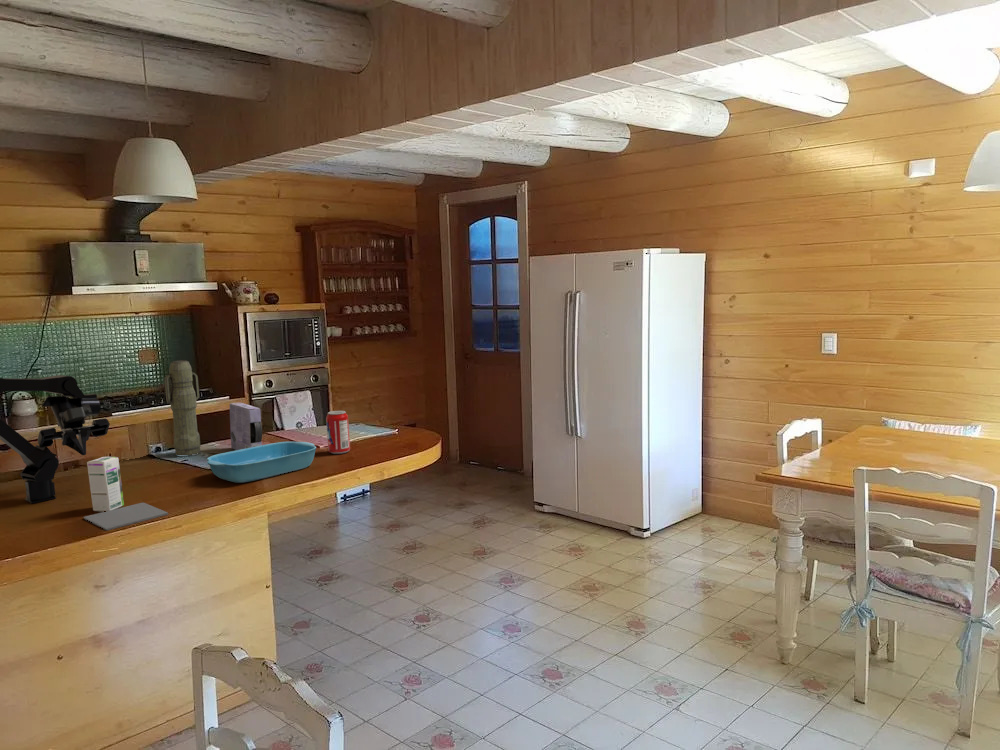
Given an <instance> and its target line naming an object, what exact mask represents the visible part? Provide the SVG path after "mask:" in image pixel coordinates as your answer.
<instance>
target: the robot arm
mask: <svg viewBox="0 0 1000 750" xmlns="http://www.w3.org/2000/svg"><path fill="white" fill-rule="evenodd" d="M4 392H44V393H45V392H46V393H50V394H57V396H54V395H49V394H48V395H47V397H46V398H45V400H44V401H43V402H42V404H41V405H42V408H43V407H44V408H46V407H48V408H49V407H50V408H51V411H52V412H53V415H54V417H55V419H56V422H57V423H56V425H57V426H58V427H59V428H60V431H57V429H56V427H49V428H45V429H40V430H39V432H38V437H37V445H34V444H32V443H31V442H30V441H28V440H27V439H26V438H25V437H24V436H22V435H21V434H20V433H19V432H17V430H15V429H14V428H12V427H11V426H10V424H8V423H6V421H4V420H3V419H2V418H0V440H1V442H3V443H4V445H5V444H6V445H7V446H8V447H9V448H10V449H12V450H14V451H15V452H16V453H17V454H18V455H19V456H20V457H21V460H22V461H23V463H24V465H26V466H25V467H23V470H21V472H20V473H19V475H20V477H21V479H22V480H24V483H25V484H24V485H25V495H26V498H24V501H26V502H29V503H30V504H37V503H40V502H44V501H45V502H46V501H49V500H53V499H56V498H57V496H56V487H55V482H54V481H53V480H54V479H55V475H56V471H57V470H58V468H59V463H60V460H59V459H58V458H57V456H58V455H57V453H56V454H55V453H53V452H52V451H51V450H50V448H48V447H52V446H53V444H54V440H59V439H61V441H62V442H61V445H62V446H67V447H69V448H70V449H72V450H74V451H76V453H79V454H80V455H81V456H86V455H87V441H88V440H89V439H90V435H91V436H92V437H95V438H98V437H103V436H106V435H107V434H108V432H109V428H110V421H109V419H107V418H105V417H104V418H100V419H99V418H98V419H93V420H92V422H91V424H90V425H85V424H86V420H85V418H87V417H89V416H98V415H99V413H100V412H101V409H102V408H101V404H100V401H99V398H97V397H98V394H96V393H87V394H85V393H84V392H83V391H82V390H81V388H80V387H79V386H78V382H77V380H76V378H75V377H74V376H72V375H71V376H70V375H61V374H60V375H59V374H58V375H57V374H56V375H52V376H45V377H41V378H10V377H9V378H5V377H4V378H2V377H0V395H1V394H2V393H4ZM59 395H60V396H59Z"/></svg>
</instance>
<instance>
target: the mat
mask: <svg viewBox="0 0 1000 750" xmlns="http://www.w3.org/2000/svg"><path fill="white" fill-rule="evenodd" d="M168 515H169V512H168V511H165V510H163V509H161V508H159V507H155V506H154V505H151V504H149V503H145V502H139V503H135V504H131V505H127V506H121V507H119V508H116V509H114V510H110V511H106V512H104V511H101V512H98V513H94V514H90V515H85V516H83V518H84V519H83V520H85V521H87V520H88V521H87V522H89V521H90V522H89V523H91V522H92V523H91V524H92V525H95V526H97V527H99V528H100V527H101V529H102V528H103V529H102V530H104V531H110V530H114V529H118V528H121V527H126V526H129V525H133V524H138V523H141V522H144V521H148V520H152V519H156V518H159V517H163V516H168Z"/></svg>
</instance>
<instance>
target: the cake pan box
mask: <svg viewBox="0 0 1000 750" xmlns="http://www.w3.org/2000/svg"><path fill="white" fill-rule="evenodd" d="M261 415H262V413H261V408H260V407H256V406H253V405H250V404H247V403H243V402H230V403H229V425H230V426H229V427H230V448H231V449H232V450H234V451H236V450H241V449H246V448H251V447H256V446H261V445H263V443H262V438H263V428H262V426H263V425H262V416H261Z"/></svg>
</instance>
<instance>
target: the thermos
mask: <svg viewBox="0 0 1000 750" xmlns="http://www.w3.org/2000/svg"><path fill="white" fill-rule="evenodd" d="M168 369H169V370H168V374H166V375H165V377H164V380H163V381H164V391H165V399H166V403H167V404H170V409H171V411H172V418H173V419H172V420H173V430H174V435H173V446H174V447H173V448H174V450H175V455H176V454H177V455H192V454H197V453H200V452H201V436H200V433H199V430H198V422H197V421H198V419H197V410H196V409H197V401H198V400H199V399H200V397H201V396H200V387H199V377H198V374H197V373H196V372H193V371H192V370H193V368H192V366H191V364H190V361H189V360H186V359H182V360H181V359H180V360H173V361H172V362H170V365H169V368H168ZM200 454H201V453H200Z"/></svg>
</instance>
